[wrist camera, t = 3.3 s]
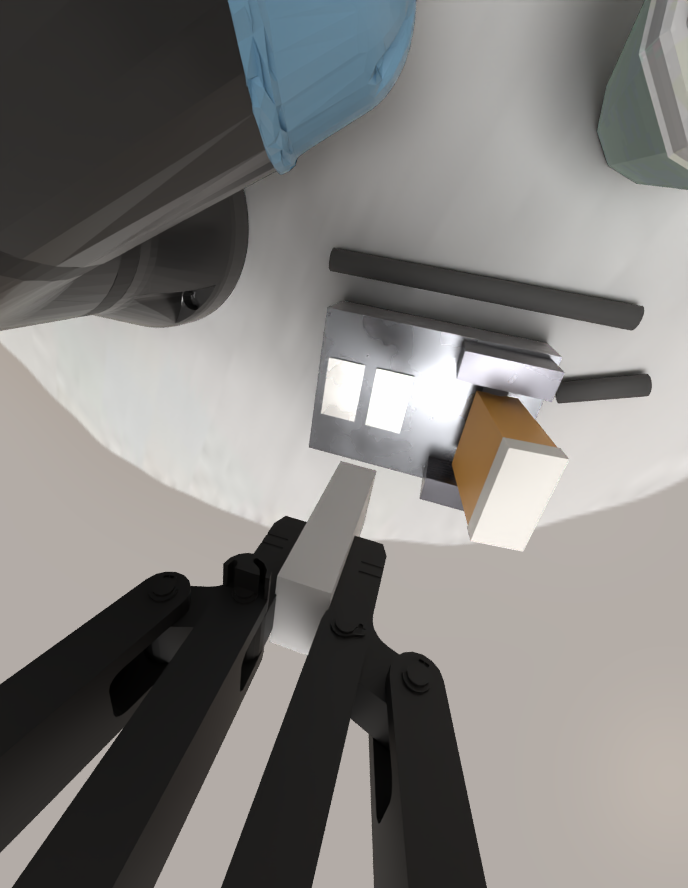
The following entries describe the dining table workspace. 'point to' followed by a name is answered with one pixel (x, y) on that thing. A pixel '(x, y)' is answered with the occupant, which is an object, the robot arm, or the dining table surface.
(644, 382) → the dark grey peg
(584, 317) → the dark grey rod
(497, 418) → the lever
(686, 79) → the disposable coffee cup
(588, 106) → the dining table surface
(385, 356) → the labelled grey housing
